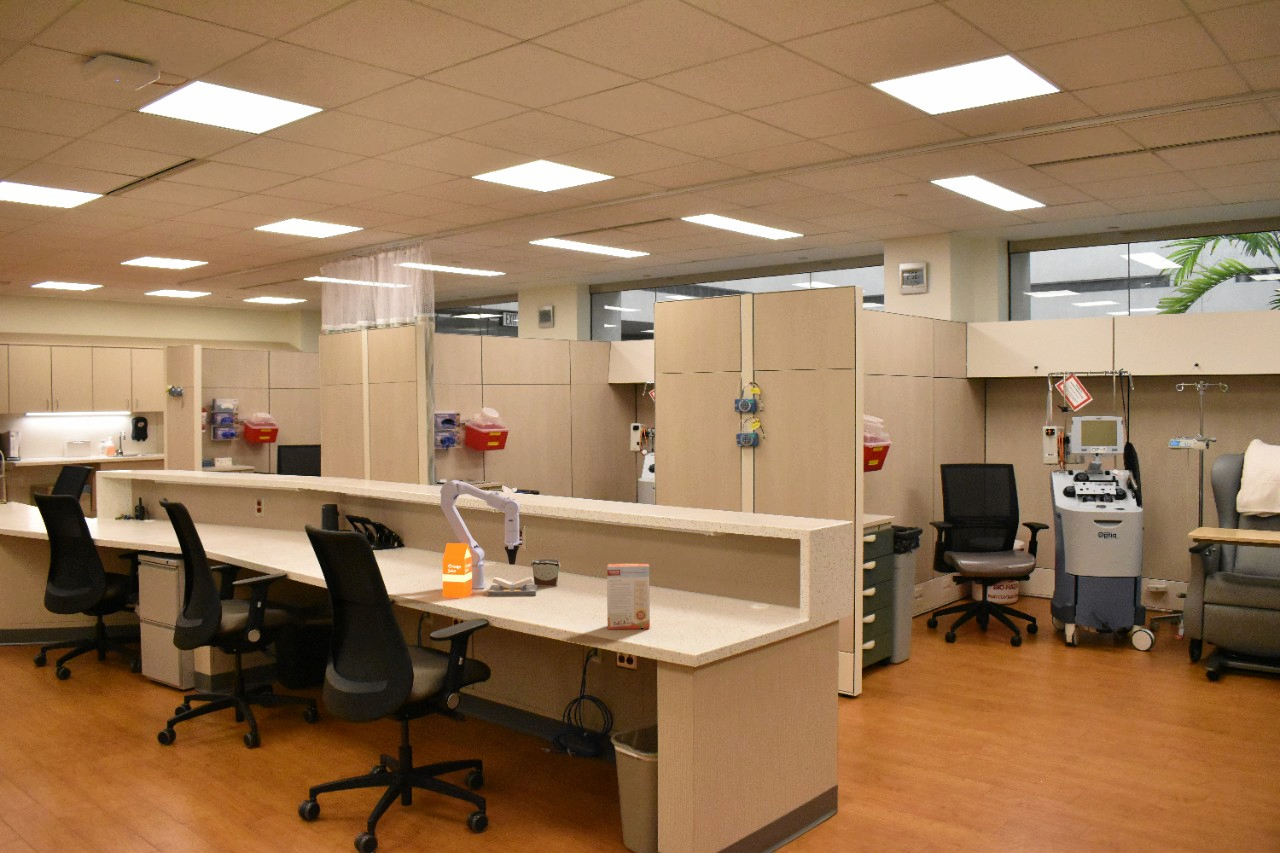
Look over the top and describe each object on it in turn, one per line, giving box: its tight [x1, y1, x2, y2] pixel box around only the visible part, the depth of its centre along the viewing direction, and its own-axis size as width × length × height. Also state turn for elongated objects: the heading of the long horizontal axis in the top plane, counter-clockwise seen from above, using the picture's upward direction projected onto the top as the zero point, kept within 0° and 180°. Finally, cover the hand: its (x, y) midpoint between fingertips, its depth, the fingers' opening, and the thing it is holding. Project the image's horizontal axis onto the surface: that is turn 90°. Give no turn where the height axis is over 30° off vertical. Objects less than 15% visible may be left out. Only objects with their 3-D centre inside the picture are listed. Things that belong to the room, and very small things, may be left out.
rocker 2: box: [513, 575, 534, 588], centre depth 373 cm, size 7×5×2 cm
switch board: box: [487, 584, 538, 597], centre depth 373 cm, size 18×14×3 cm
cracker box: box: [606, 563, 651, 630], centre depth 316 cm, size 14×6×21 cm, turn 92°
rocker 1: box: [492, 575, 513, 589], centre depth 372 cm, size 7×5×2 cm
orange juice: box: [442, 542, 473, 599], centre depth 367 cm, size 8×9×20 cm
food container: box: [530, 558, 561, 587], centre depth 388 cm, size 12×6×10 cm, turn 76°
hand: (512, 564), depth 381 cm, fingers closed
